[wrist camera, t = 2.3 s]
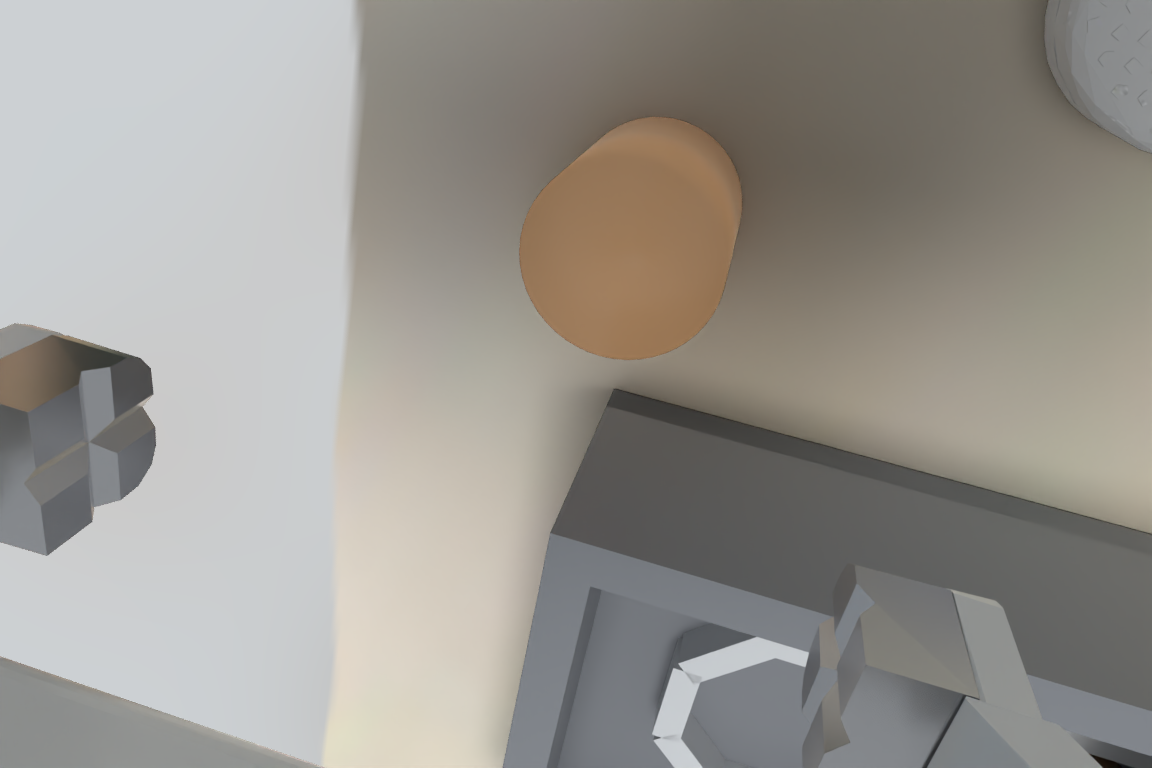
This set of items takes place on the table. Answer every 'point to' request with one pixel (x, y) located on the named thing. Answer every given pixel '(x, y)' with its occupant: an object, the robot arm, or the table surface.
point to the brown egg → (634, 239)
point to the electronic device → (1104, 62)
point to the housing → (795, 594)
